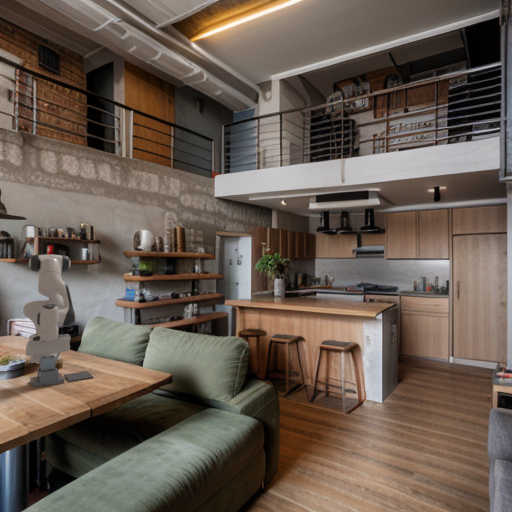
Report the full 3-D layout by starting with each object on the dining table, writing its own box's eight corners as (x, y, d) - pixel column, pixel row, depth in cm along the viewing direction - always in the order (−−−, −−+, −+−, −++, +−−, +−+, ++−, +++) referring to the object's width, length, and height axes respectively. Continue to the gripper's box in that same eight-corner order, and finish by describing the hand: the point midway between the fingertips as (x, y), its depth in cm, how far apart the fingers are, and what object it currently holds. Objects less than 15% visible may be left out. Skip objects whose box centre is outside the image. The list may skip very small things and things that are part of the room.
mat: (63, 375, 196) (64, 374, 196) (87, 372, 203) (87, 370, 203) (68, 382, 185) (68, 380, 185) (93, 378, 192) (93, 376, 192)
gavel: (62, 370, 196) (41, 373, 191) (62, 378, 196) (41, 381, 191) (62, 359, 214) (43, 361, 209) (62, 367, 214) (43, 369, 209)
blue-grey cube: (40, 368, 186) (40, 356, 186) (53, 366, 189) (53, 355, 190) (41, 370, 181) (42, 359, 181) (55, 368, 185) (55, 357, 185)
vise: (30, 381, 186) (31, 355, 186) (60, 376, 194) (60, 352, 195) (32, 388, 175) (33, 360, 176) (64, 382, 184) (65, 356, 185)
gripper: (69, 332, 195) (68, 357, 194) (25, 336, 182) (24, 363, 182) (71, 334, 190) (70, 360, 189) (26, 338, 177) (25, 366, 177)
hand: (47, 361), depth 185 cm, fingers closed on blue-grey cube, 6 cm apart
